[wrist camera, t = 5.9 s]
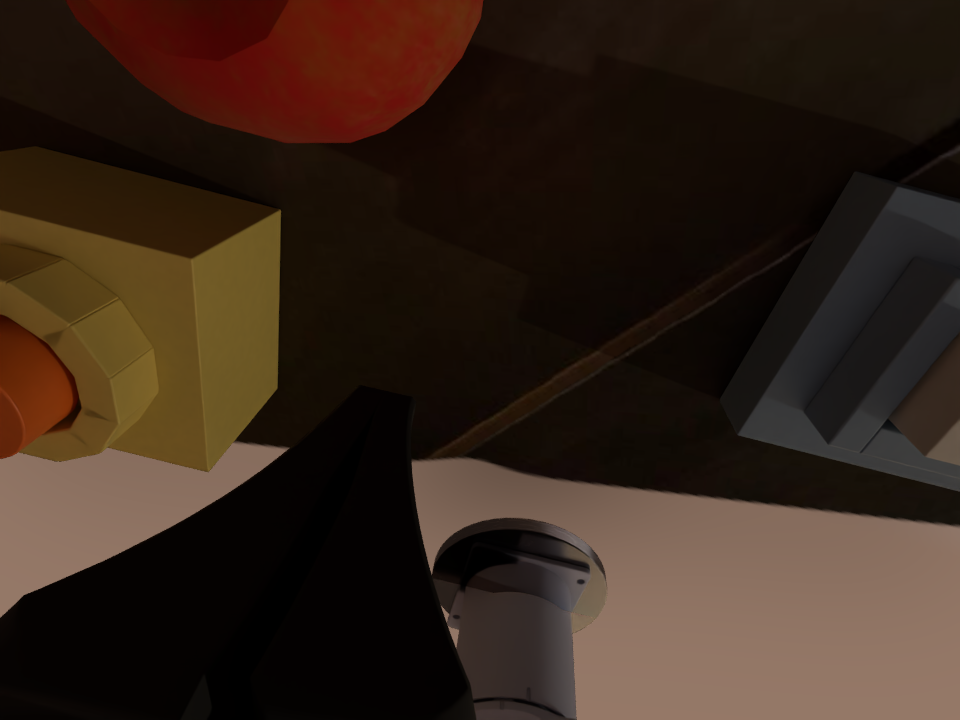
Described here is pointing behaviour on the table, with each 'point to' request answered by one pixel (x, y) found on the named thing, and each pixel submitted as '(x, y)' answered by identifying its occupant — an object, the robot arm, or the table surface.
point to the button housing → (141, 304)
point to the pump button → (934, 409)
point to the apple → (287, 59)
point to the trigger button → (30, 388)
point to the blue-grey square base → (857, 332)
